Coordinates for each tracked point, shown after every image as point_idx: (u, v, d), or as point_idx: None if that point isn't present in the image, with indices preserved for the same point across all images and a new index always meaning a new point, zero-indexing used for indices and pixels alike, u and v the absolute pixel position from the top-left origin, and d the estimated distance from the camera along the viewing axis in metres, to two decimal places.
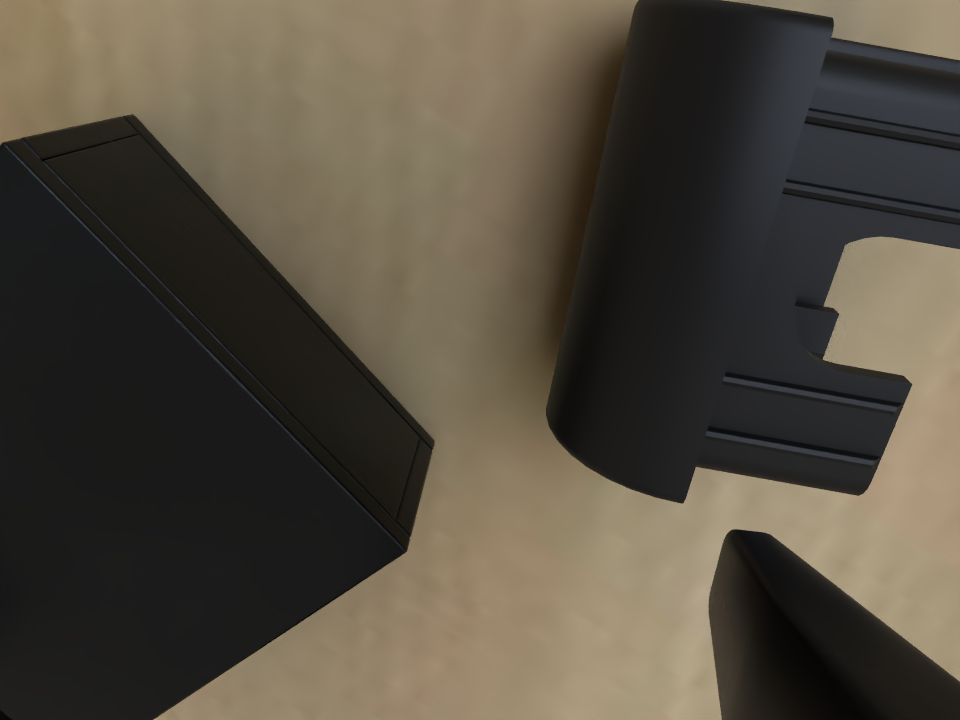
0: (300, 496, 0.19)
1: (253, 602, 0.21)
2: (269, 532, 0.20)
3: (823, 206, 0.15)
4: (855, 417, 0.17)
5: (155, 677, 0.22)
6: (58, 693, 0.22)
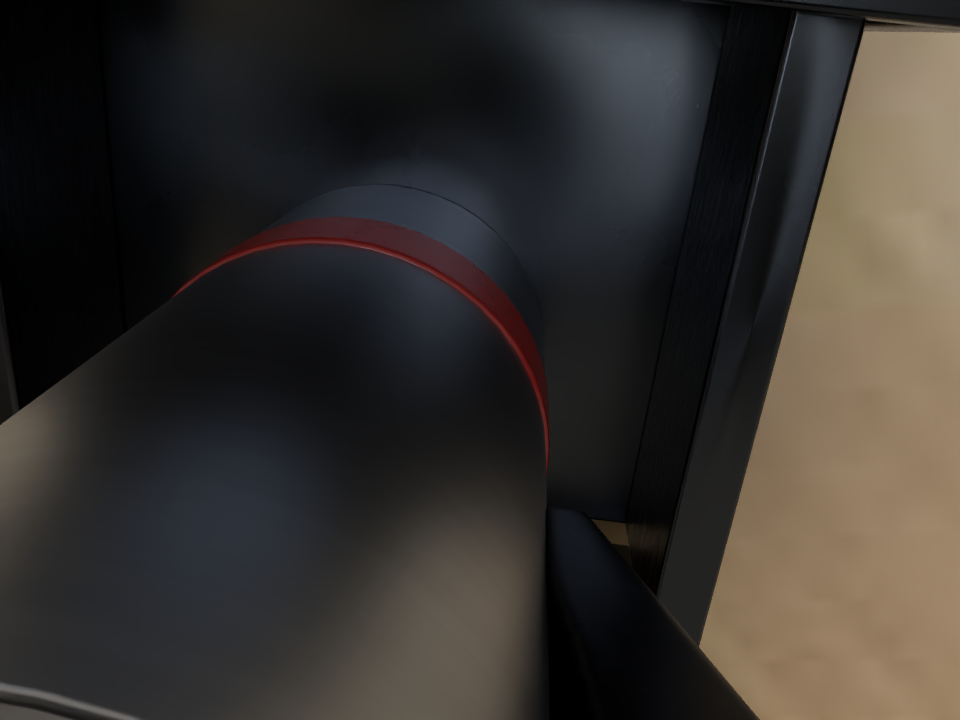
0: None
1: None
2: None
3: None
4: None
5: None
6: None
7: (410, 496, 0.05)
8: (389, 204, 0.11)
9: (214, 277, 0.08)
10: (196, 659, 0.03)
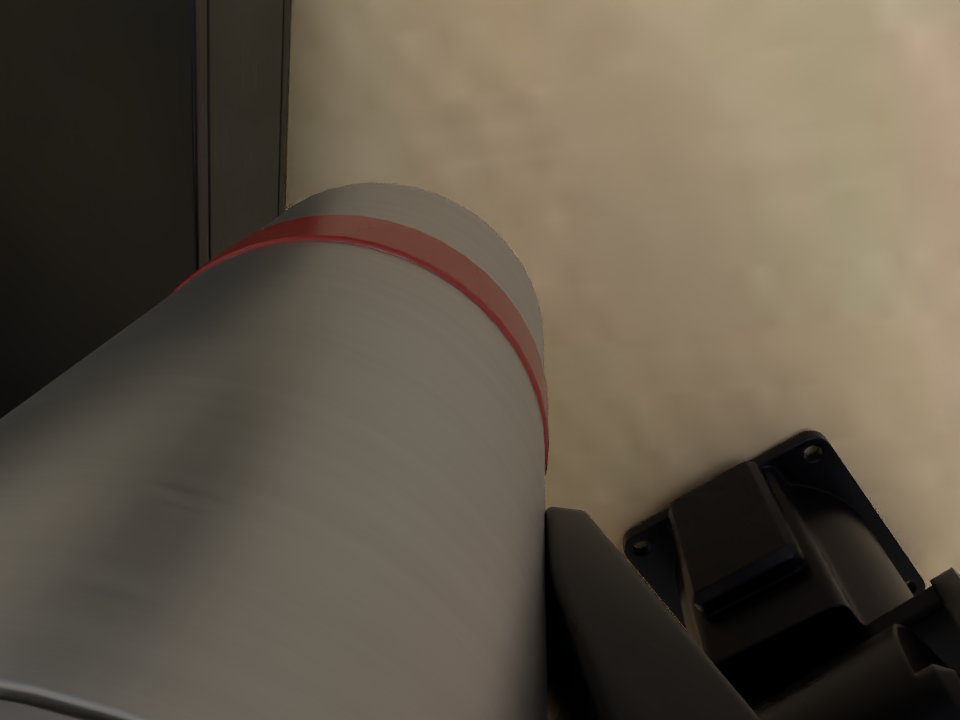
0: None
1: (129, 135, 0.14)
2: (51, 12, 0.14)
3: None
4: None
5: None
6: None
7: (407, 492, 0.05)
8: (388, 202, 0.11)
9: (212, 274, 0.08)
10: (190, 652, 0.03)
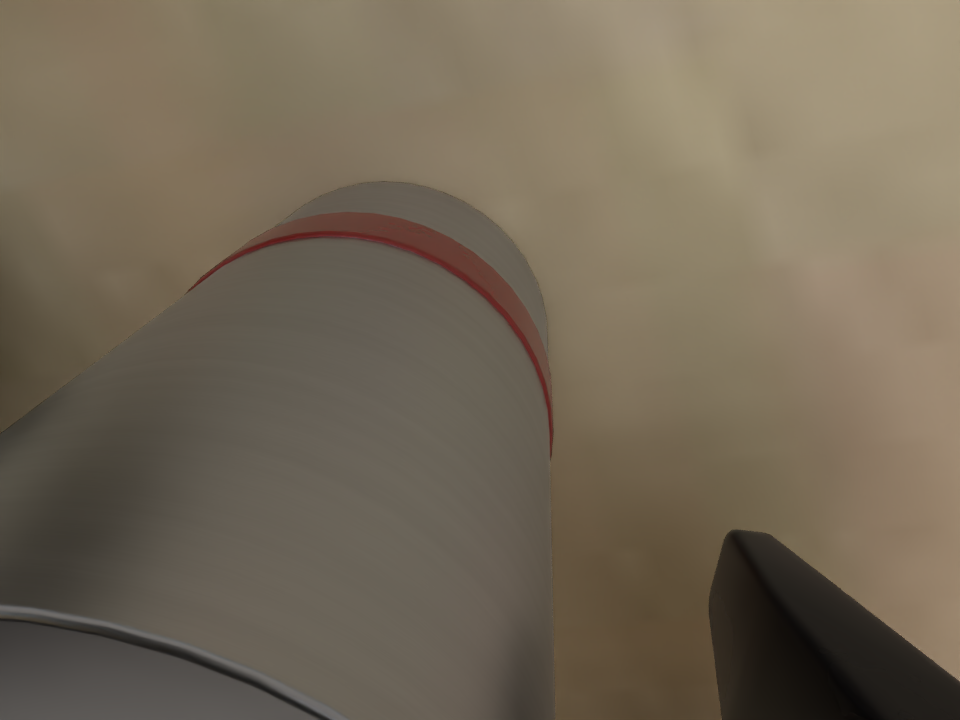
0: None
1: None
2: None
3: None
4: None
5: None
6: None
7: (427, 467, 0.06)
8: (398, 200, 0.11)
9: (233, 268, 0.09)
10: (243, 596, 0.04)
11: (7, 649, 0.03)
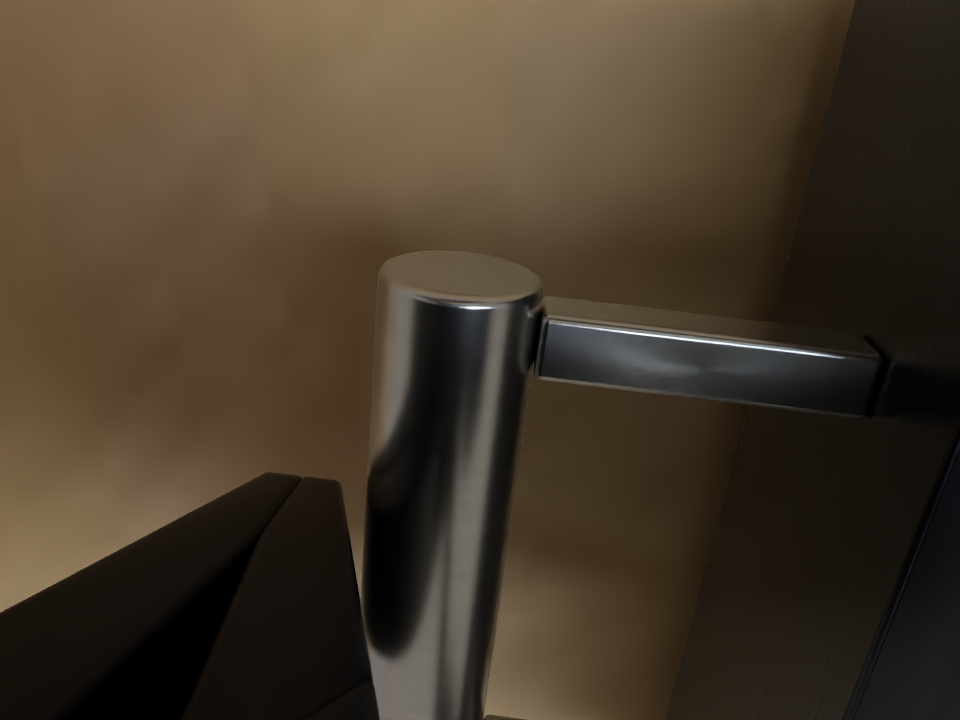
0: None
1: None
2: None
3: None
4: None
5: None
6: None
7: None
8: None
9: None
10: None
11: None
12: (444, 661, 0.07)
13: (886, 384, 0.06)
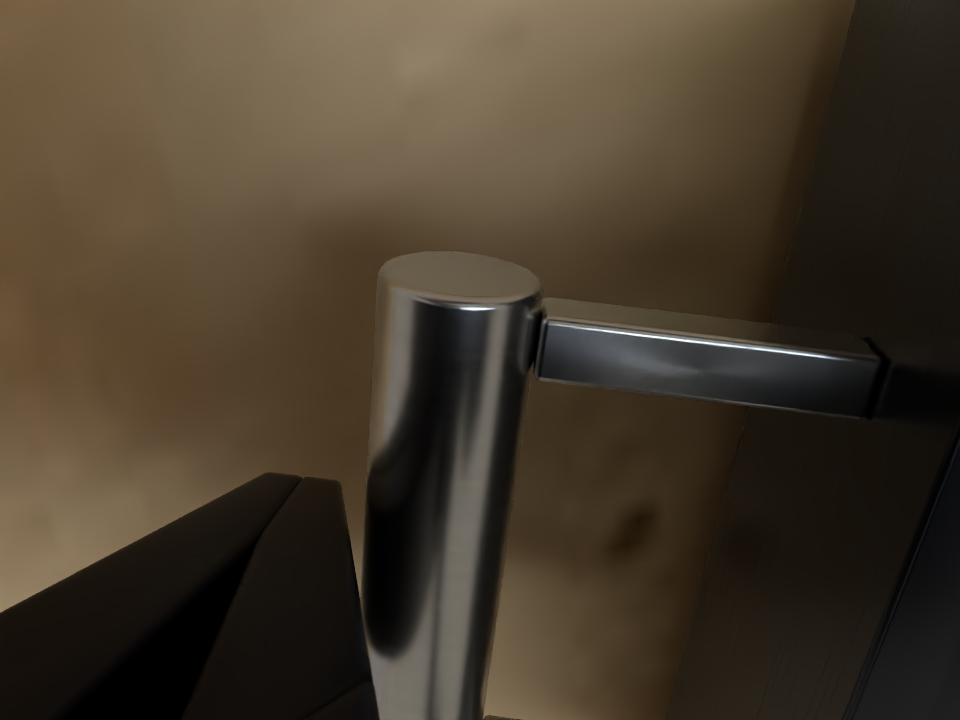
0: None
1: None
2: None
3: None
4: None
5: None
6: None
7: None
8: None
9: None
10: None
11: None
12: (443, 660, 0.07)
13: (884, 386, 0.06)
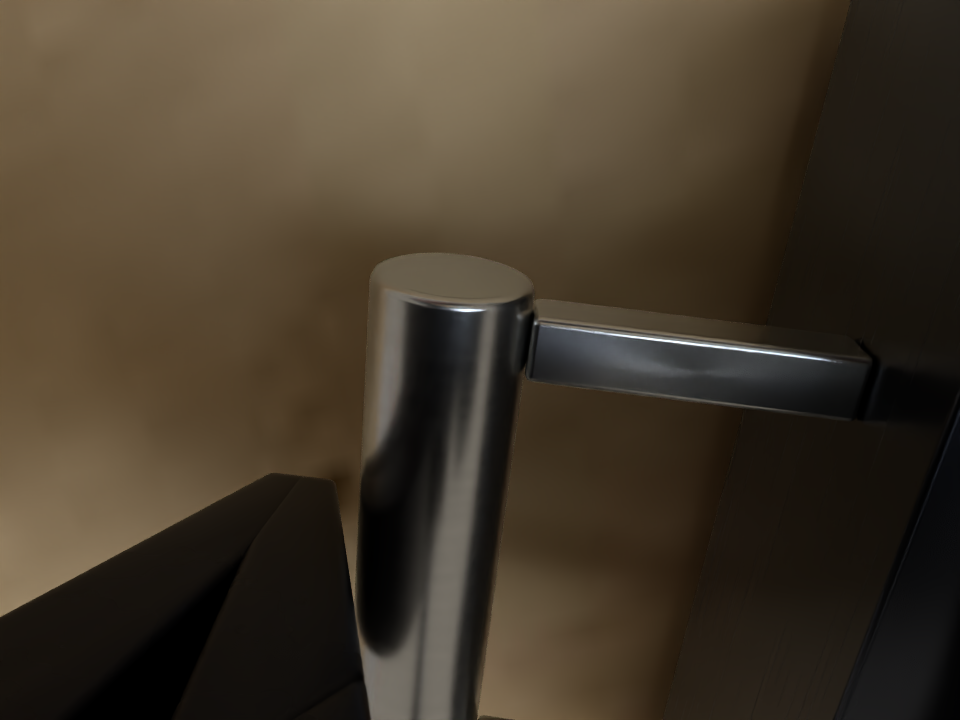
0: None
1: None
2: None
3: None
4: None
5: None
6: None
7: None
8: None
9: None
10: None
11: None
12: (436, 660, 0.07)
13: (876, 387, 0.06)
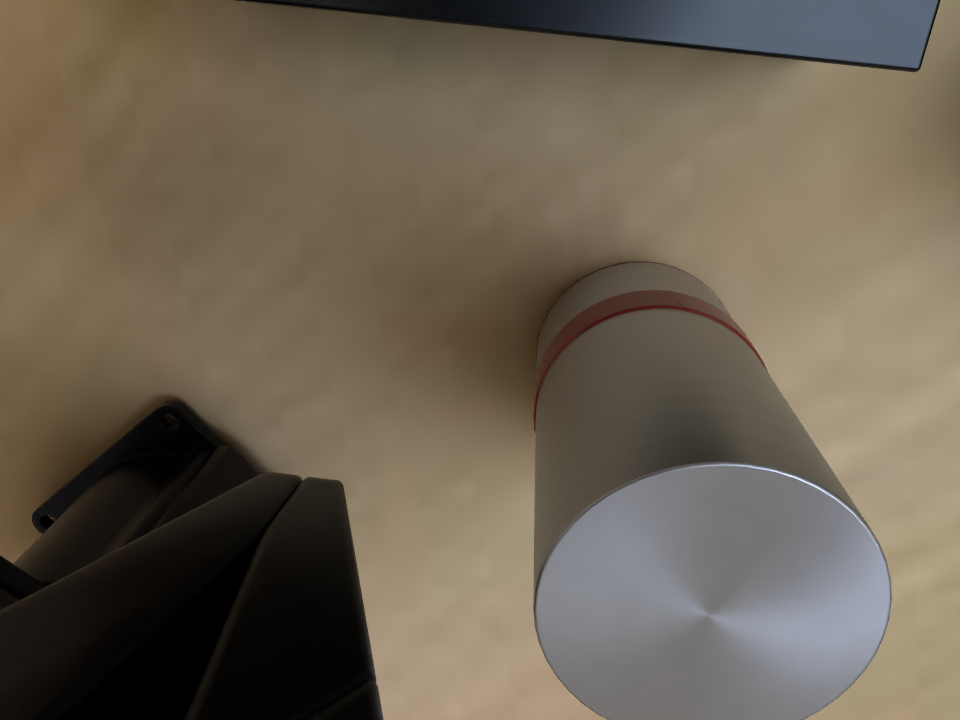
0: None
1: None
2: None
3: None
4: None
5: None
6: None
7: None
8: None
9: None
10: None
11: (872, 629, 0.12)
12: None
13: None
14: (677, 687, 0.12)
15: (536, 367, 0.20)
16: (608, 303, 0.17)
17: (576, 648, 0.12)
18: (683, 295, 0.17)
